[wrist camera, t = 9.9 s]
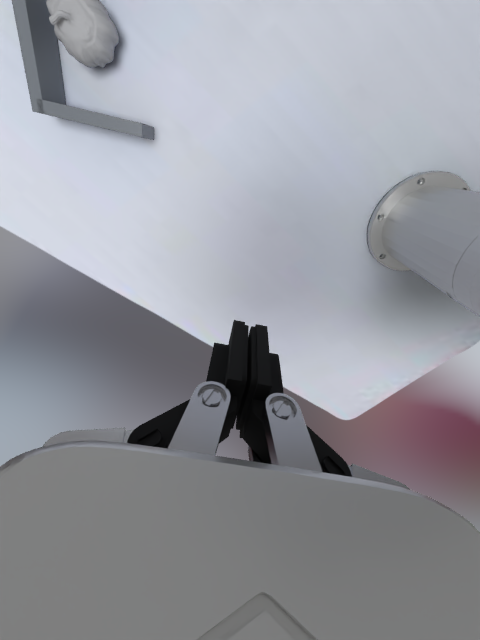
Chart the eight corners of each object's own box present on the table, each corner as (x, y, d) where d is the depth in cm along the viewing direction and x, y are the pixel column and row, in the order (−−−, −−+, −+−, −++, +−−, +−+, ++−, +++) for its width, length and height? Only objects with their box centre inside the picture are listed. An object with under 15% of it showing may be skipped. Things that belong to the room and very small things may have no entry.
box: (156, -57, 23) (139, -95, 20) (153, 139, 31) (141, 137, 27) (26, -95, 22) (-15, -141, 19) (57, 116, 30) (32, 111, 27)
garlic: (69, 63, 28) (34, 45, 23) (64, -12, 25) (23, -49, 20) (125, 82, 28) (101, 67, 24) (126, 11, 25) (100, -20, 21)
